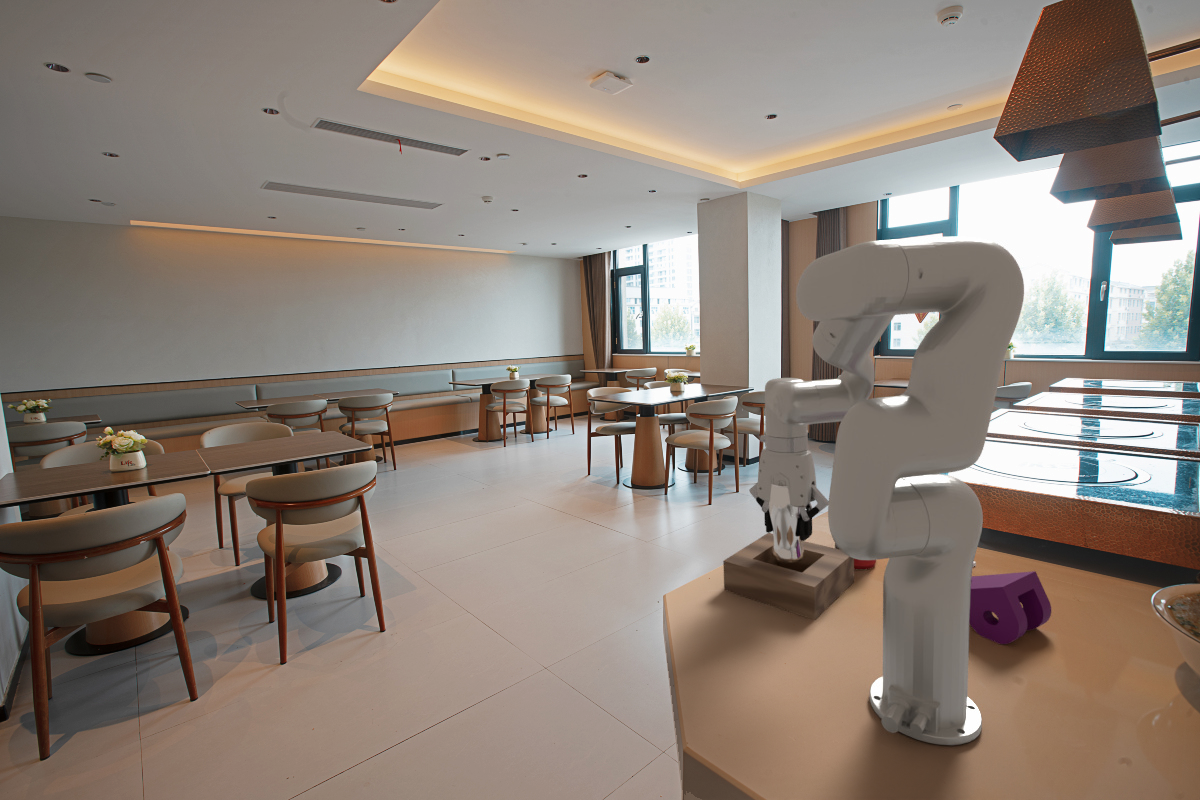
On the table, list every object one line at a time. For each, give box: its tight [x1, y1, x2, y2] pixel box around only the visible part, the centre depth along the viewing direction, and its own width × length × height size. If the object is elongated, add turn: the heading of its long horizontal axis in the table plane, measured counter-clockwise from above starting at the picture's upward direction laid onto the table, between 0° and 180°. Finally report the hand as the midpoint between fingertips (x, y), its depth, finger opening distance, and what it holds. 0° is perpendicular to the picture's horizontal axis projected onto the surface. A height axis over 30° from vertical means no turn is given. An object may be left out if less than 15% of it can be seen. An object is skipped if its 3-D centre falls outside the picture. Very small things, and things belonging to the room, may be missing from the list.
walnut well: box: [722, 532, 855, 621], centre depth 107 cm, size 18×18×6 cm
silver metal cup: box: [768, 484, 805, 562], centre depth 106 cm, size 7×7×15 cm
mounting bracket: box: [969, 570, 1052, 645], centre depth 93 cm, size 10×8×18 cm
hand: (787, 533), depth 107 cm, fingers closed on silver metal cup, 6 cm apart
